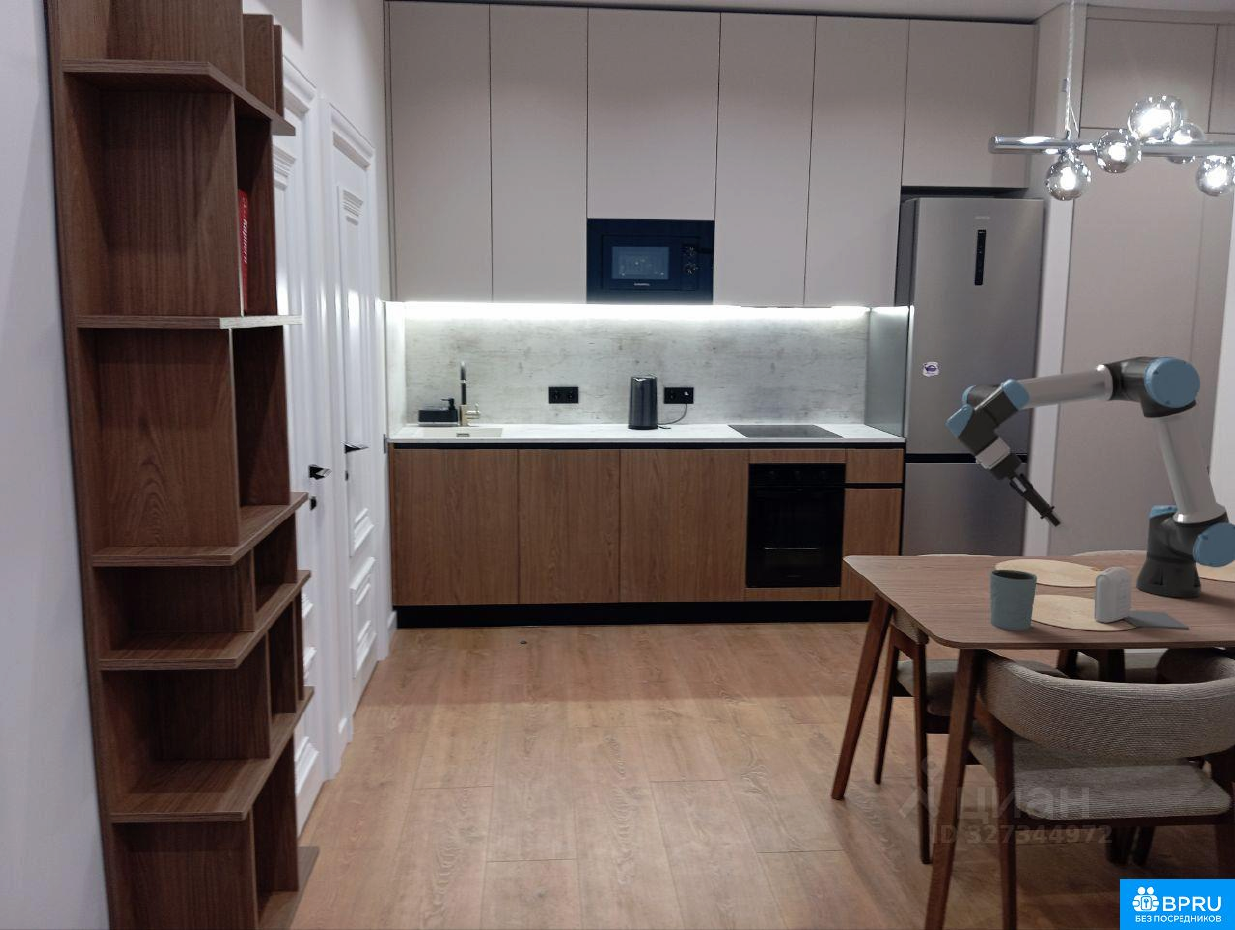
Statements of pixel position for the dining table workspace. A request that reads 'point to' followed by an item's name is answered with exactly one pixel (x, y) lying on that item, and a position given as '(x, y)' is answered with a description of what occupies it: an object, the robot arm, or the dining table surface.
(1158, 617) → the mat
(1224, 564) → the robot arm
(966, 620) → the dining table surface
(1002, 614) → the teal cup
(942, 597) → the dining table surface
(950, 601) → the dining table surface
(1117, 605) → the photo printer
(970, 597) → the dining table surface
